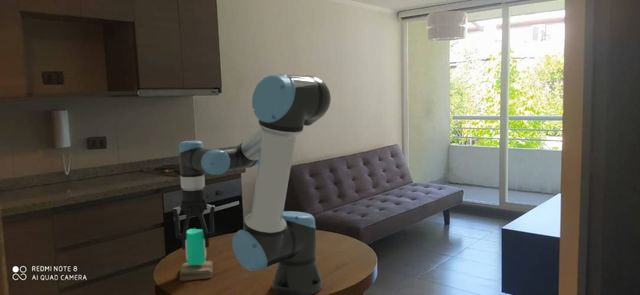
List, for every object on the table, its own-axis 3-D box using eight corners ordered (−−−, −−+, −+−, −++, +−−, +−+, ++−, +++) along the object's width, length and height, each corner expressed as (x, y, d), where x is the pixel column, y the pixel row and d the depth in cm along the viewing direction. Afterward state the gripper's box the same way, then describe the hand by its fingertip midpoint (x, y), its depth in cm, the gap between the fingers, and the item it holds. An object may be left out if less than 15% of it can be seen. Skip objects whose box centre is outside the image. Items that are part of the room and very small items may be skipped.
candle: (183, 262, 152) (181, 226, 150) (199, 257, 156) (197, 222, 155) (193, 266, 148) (191, 230, 146) (209, 261, 152) (207, 226, 151)
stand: (211, 277, 148) (211, 270, 148) (179, 280, 147) (179, 273, 146) (212, 266, 158) (212, 259, 158) (182, 269, 156) (182, 262, 156)
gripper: (221, 184, 155) (223, 251, 157) (165, 187, 151) (169, 255, 154) (220, 189, 147) (223, 259, 150) (162, 192, 144) (166, 263, 146)
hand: (196, 257), depth 152 cm, fingers closed on candle, 5 cm apart
